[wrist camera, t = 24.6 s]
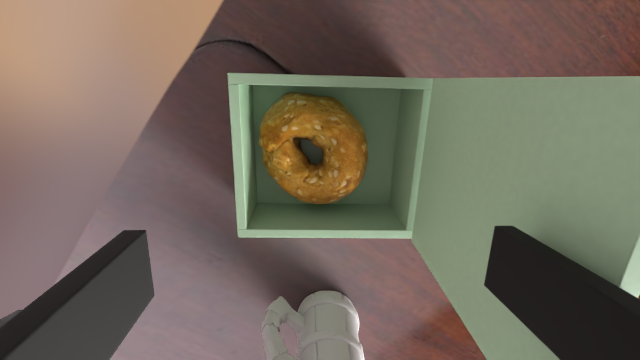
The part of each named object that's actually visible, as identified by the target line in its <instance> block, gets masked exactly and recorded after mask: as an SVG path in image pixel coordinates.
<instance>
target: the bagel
mask: <svg viewBox="0 0 640 360" xmlns="http://www.w3.org/2000/svg"><path fill="white" fill-rule="evenodd" d="M300 139H306V140H308V141H312V143H313V145H315V146H317V147H318V148H320V149H321V150H322V154H323V160H322V162H320V163H319V164H314V163H310V161H309V159H308V157H307V156H306V155H305V154H304V153H303V151H302V148H301V142H300ZM259 145H260V146H262V148H263V164H264V165H265V167H266V170H267V172H268V174H269V175H270V176H271V177H272V178H273V179H275V180H276V182H277V183H278V184H279V185H280V187H281V188H282V189H283V190H285V191H286V192H287V193H288V194H290V195H291V196H293V197H295V198H297V199H299V200H300V201H304V202H306V203H313V204H328V203H335V202H337V201H339V200H340V199H342V198H344V197H346V196H347V195H349V194H350V193H352V192H353V191H354V190H355V189H356V187H357V186H358V185H359V183H360V181H361V180H362V179H363V177H364V174H365V171H366V165H367V161H368V149H367V140H366V135H365V131H364V130H363V127H362V126H361V125H360V123H359V122H358V121H357V120H356V119H355V117H354V116H353V115H352V114H351V113H350V112H349V111H348V110H347V108H346V107H345V106H344V105H343V104H342V103H341V102H340V101H338V100H337V99H335V98H333V97H328V96H316V95H313V94H307V93H297V92H290V93H286V94H284V95H283V96H282V97H281V98H280V99H279V100H278V101H277V102H274V103H273V105H272V106H271V107H270V108H269V109H268V111H267V112H266V113H265V114H264V116H263V120H262V122H261V125H260V138H259Z"/></svg>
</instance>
